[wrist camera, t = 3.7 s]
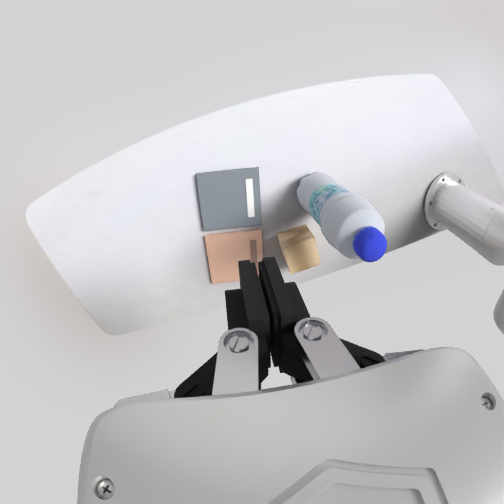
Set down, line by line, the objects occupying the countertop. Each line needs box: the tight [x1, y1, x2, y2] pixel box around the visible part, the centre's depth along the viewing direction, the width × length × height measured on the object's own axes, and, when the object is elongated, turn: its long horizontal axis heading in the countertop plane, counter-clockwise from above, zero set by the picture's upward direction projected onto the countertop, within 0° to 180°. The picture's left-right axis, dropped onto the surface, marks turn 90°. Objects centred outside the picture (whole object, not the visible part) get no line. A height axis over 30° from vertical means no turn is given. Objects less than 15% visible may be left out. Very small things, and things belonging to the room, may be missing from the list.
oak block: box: [277, 224, 320, 274], centre depth 44 cm, size 5×5×5 cm
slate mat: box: [196, 167, 262, 231], centre depth 41 cm, size 9×9×1 cm
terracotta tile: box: [205, 229, 263, 284], centre depth 46 cm, size 9×9×1 cm
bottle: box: [297, 172, 387, 262], centre depth 33 cm, size 7×7×20 cm
